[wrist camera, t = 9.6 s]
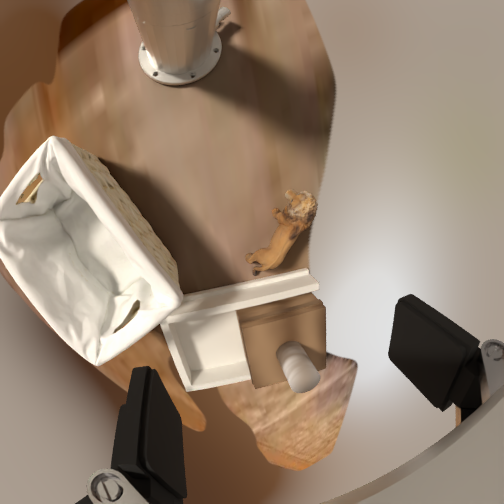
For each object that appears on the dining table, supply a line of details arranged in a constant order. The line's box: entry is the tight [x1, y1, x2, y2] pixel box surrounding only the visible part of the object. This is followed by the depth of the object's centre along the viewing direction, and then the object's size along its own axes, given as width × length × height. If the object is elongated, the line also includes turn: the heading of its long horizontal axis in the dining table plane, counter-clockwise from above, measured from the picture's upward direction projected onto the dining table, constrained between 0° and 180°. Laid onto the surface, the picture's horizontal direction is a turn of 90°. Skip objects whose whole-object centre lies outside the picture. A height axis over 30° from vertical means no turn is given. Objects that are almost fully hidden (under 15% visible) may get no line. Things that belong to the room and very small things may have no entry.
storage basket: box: [0, 136, 183, 366], centre depth 30 cm, size 24×16×15 cm
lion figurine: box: [245, 189, 318, 276], centre depth 38 cm, size 15×5×9 cm, turn 157°
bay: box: [160, 268, 319, 392], centre depth 44 cm, size 25×17×5 cm
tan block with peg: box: [235, 292, 326, 393], centre depth 38 cm, size 12×12×15 cm
